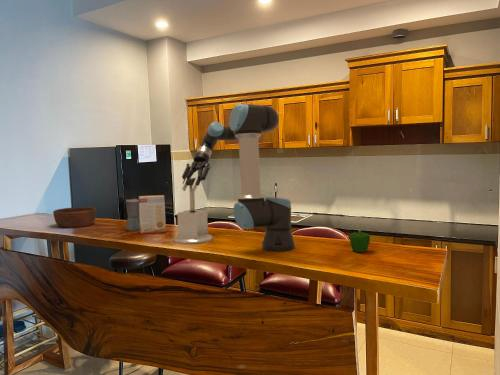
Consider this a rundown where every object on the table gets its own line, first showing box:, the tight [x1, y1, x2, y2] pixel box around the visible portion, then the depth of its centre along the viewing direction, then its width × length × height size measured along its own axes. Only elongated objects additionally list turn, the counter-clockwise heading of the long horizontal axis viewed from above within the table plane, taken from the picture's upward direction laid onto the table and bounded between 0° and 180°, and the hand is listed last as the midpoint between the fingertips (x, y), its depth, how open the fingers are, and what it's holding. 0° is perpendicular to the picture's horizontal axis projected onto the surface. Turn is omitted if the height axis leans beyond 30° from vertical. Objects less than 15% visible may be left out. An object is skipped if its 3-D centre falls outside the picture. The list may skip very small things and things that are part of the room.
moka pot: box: [120, 195, 140, 232], centre depth 217 cm, size 10×15×20 cm, turn 78°
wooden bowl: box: [52, 206, 97, 229], centre depth 235 cm, size 25×25×10 cm
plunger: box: [187, 177, 197, 212], centre depth 187 cm, size 8×8×22 cm
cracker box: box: [138, 194, 167, 235], centre depth 208 cm, size 14×6×21 cm, turn 105°
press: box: [172, 209, 214, 245], centre depth 188 cm, size 20×20×14 cm
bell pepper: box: [349, 229, 371, 253], centre depth 160 cm, size 8×8×10 cm
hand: (188, 189), depth 183 cm, fingers closed on plunger, 5 cm apart
